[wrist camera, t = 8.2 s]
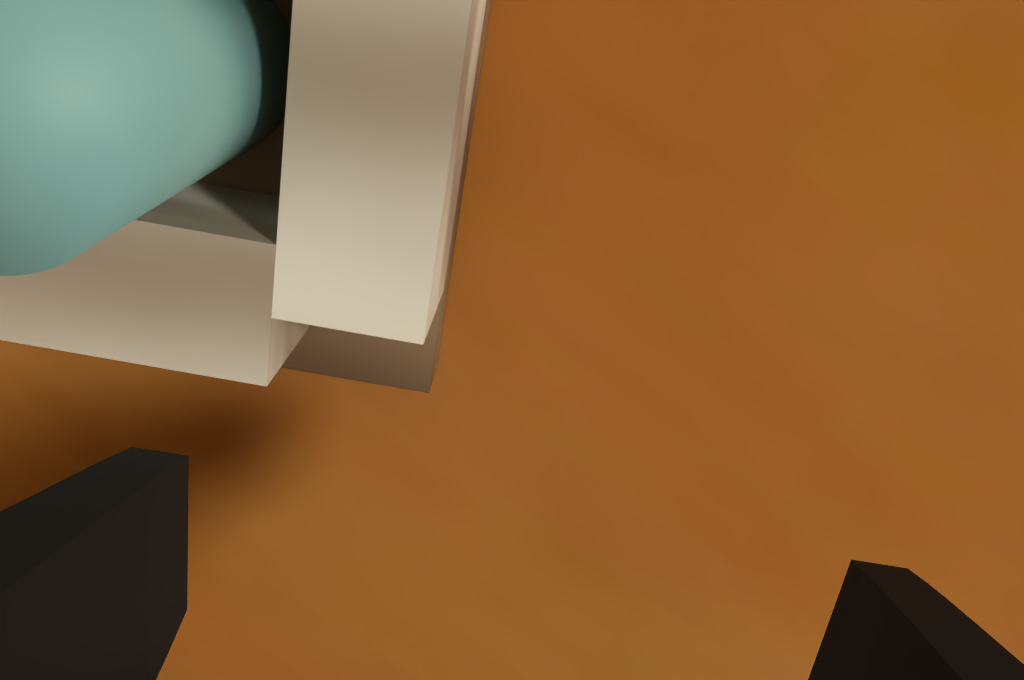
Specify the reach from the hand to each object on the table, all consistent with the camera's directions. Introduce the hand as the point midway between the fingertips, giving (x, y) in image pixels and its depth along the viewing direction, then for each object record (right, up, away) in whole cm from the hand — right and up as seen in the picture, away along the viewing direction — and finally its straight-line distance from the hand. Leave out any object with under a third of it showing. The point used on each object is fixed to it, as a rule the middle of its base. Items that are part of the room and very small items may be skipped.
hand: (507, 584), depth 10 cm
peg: (-6, +8, +7) cm, 12 cm away
